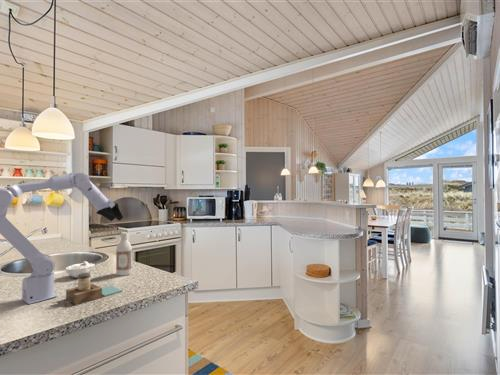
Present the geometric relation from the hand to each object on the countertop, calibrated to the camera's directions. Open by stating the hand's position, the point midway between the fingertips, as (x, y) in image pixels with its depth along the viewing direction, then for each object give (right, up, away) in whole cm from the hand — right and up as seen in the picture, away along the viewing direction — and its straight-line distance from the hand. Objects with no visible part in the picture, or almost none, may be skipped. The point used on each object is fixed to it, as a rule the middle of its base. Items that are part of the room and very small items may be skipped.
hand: (117, 219), depth 128 cm
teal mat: (+2, -28, -12) cm, 30 cm away
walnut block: (-4, -28, -19) cm, 34 cm away
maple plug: (-4, -28, -19) cm, 34 cm away
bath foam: (-2, -28, +12) cm, 31 cm away
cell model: (-21, -28, +7) cm, 36 cm away
